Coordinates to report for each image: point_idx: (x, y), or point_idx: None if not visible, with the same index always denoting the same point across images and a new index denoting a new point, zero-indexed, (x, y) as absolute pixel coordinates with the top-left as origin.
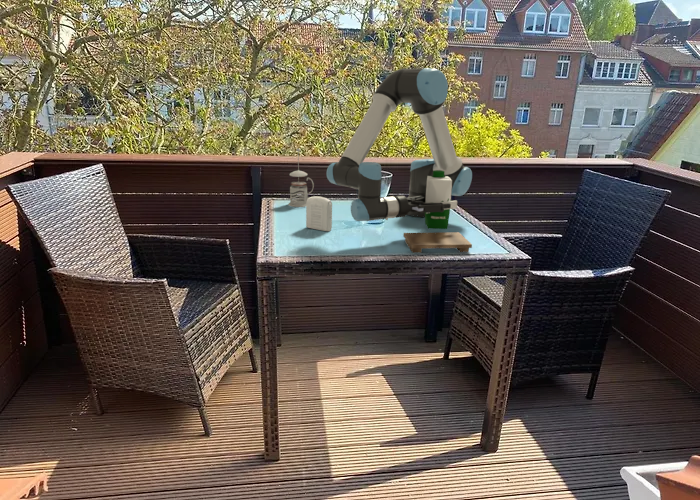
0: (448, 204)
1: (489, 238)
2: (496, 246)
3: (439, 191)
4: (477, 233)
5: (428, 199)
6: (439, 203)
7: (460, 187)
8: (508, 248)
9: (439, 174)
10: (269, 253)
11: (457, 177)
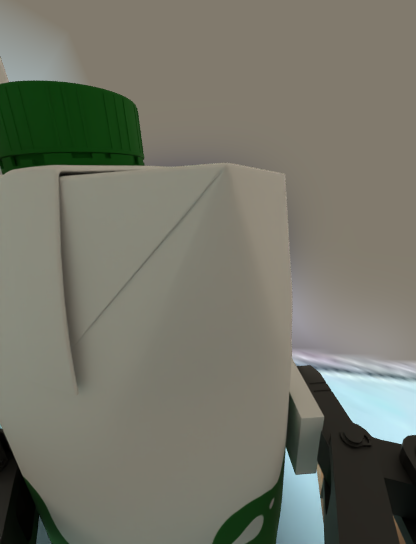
0: (322, 382)
1: None
2: (375, 386)
3: (288, 327)
4: None
5: (167, 522)
6: (363, 460)
7: None
8: (388, 368)
9: (125, 130)
10: None
11: None
